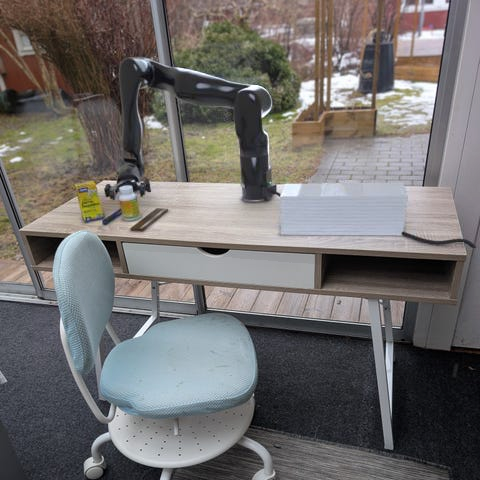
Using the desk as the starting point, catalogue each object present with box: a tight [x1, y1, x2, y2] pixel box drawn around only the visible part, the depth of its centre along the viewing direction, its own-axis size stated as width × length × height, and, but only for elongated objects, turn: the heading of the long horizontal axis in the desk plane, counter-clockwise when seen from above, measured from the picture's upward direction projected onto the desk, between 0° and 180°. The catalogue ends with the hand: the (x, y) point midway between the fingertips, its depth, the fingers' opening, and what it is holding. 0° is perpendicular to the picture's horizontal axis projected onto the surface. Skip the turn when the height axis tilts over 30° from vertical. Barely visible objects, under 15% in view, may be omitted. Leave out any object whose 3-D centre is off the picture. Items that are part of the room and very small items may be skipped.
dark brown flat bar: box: [130, 207, 169, 233], centre depth 146 cm, size 17×4×1 cm, turn 161°
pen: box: [101, 207, 122, 226], centre depth 150 cm, size 15×2×2 cm, turn 161°
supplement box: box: [73, 180, 105, 223], centre depth 149 cm, size 6×6×11 cm
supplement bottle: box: [118, 186, 141, 222], centre depth 147 cm, size 5×5×10 cm
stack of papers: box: [279, 181, 409, 237], centre depth 128 cm, size 32×11×11 cm, turn 80°
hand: (127, 195), depth 145 cm, fingers open, 8 cm apart
